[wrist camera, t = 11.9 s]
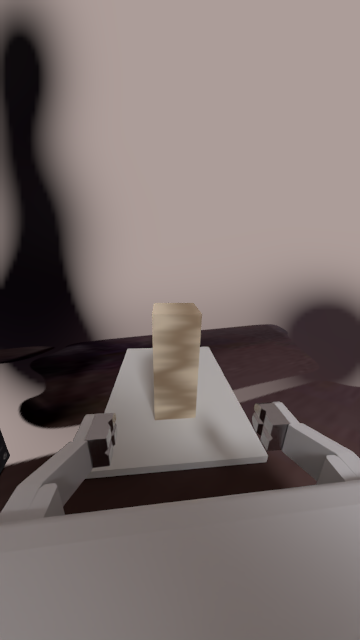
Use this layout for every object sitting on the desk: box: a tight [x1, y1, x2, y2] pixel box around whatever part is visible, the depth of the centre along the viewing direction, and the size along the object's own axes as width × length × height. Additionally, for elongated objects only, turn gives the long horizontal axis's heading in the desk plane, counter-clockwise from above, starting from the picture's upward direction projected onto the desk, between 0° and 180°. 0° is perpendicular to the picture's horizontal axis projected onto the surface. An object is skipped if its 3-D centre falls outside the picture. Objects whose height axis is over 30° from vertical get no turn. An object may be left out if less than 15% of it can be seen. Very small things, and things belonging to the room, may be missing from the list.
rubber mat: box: [85, 347, 268, 479], centre depth 26 cm, size 16×22×1 cm
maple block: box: [152, 303, 202, 420], centre depth 21 cm, size 4×4×12 cm
